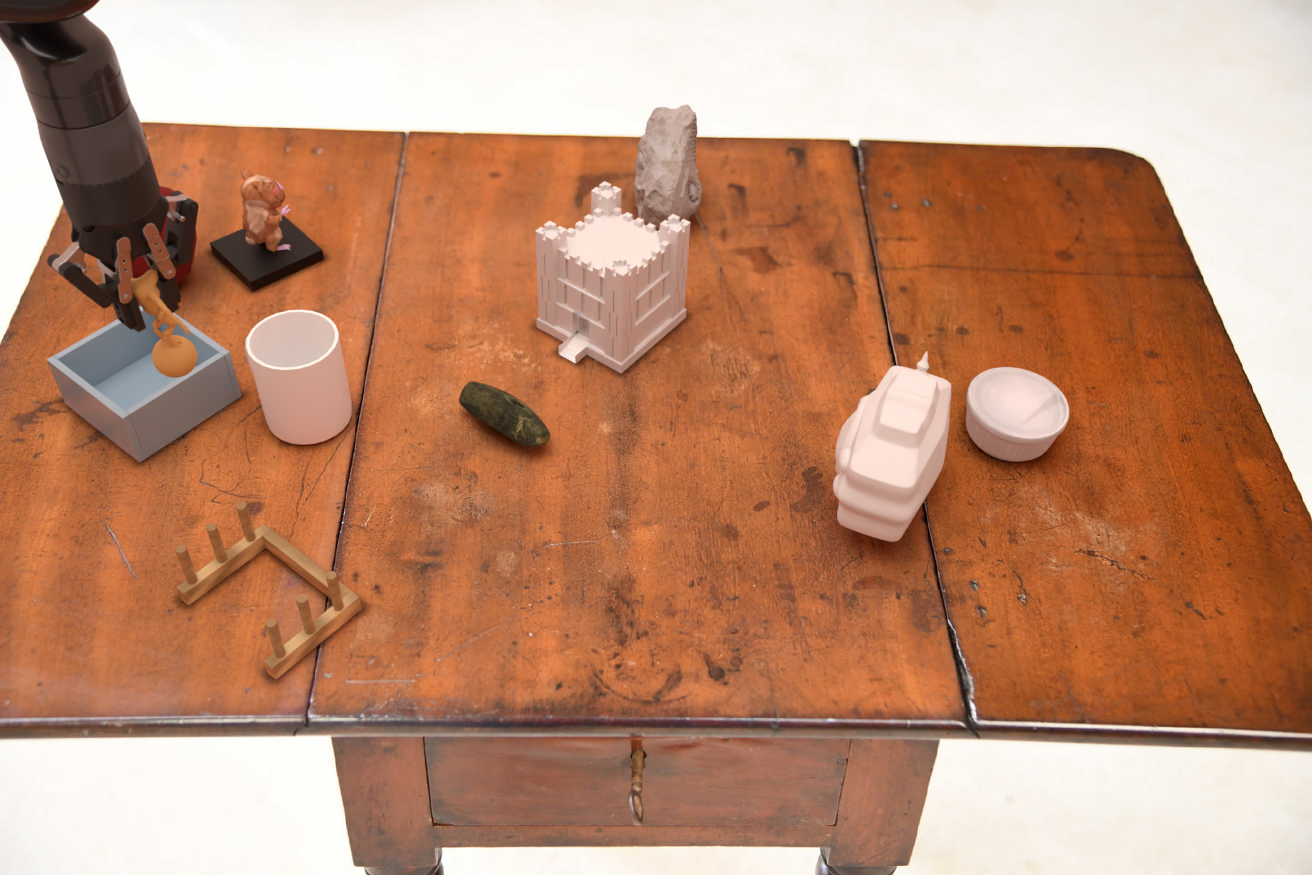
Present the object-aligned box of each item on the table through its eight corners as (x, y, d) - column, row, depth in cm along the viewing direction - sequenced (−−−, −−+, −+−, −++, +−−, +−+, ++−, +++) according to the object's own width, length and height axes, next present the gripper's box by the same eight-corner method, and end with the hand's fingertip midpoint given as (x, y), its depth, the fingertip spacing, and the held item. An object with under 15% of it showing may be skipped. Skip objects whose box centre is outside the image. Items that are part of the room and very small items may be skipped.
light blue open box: (139, 463, 135) (122, 418, 130) (65, 404, 141) (46, 359, 136) (242, 396, 143) (229, 351, 138) (167, 342, 149) (153, 298, 144)
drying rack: (276, 679, 117) (261, 636, 112) (180, 599, 123) (163, 554, 118) (362, 609, 123) (352, 564, 118) (267, 535, 129) (254, 490, 124)
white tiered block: (947, 458, 140) (979, 352, 129) (906, 576, 129) (937, 471, 117) (852, 429, 143) (875, 322, 131) (803, 542, 131) (824, 435, 120)
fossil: (692, 247, 162) (706, 130, 154) (619, 237, 162) (630, 120, 155) (704, 209, 176) (717, 101, 169) (637, 200, 176) (647, 92, 169)
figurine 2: (324, 259, 160) (309, 179, 152) (253, 291, 155) (233, 211, 147) (282, 221, 165) (265, 143, 157) (212, 252, 160) (190, 172, 152)
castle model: (685, 317, 155) (692, 222, 145) (610, 383, 147) (611, 286, 136) (603, 274, 160) (604, 179, 150) (525, 336, 152) (520, 239, 141)
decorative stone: (558, 412, 143) (558, 380, 139) (548, 462, 138) (547, 430, 134) (462, 403, 143) (458, 371, 140) (448, 452, 138) (444, 420, 134)
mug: (333, 455, 137) (316, 377, 129) (230, 434, 139) (207, 355, 130) (366, 396, 144) (352, 318, 135) (268, 377, 145) (248, 298, 137)
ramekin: (1056, 479, 139) (1069, 446, 135) (954, 459, 140) (964, 426, 136) (1058, 409, 146) (1070, 376, 143) (961, 391, 148) (971, 358, 144)
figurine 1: (221, 386, 119) (218, 276, 112) (166, 410, 115) (159, 298, 108) (166, 346, 122) (159, 237, 115) (110, 368, 118) (100, 257, 111)
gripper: (145, 102, 107) (192, 263, 119) (-8, 173, 99) (59, 337, 112) (200, 136, 104) (242, 298, 116) (46, 212, 96) (109, 376, 109)
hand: (152, 316), depth 114 cm, fingers closed on figurine 1, 3 cm apart
